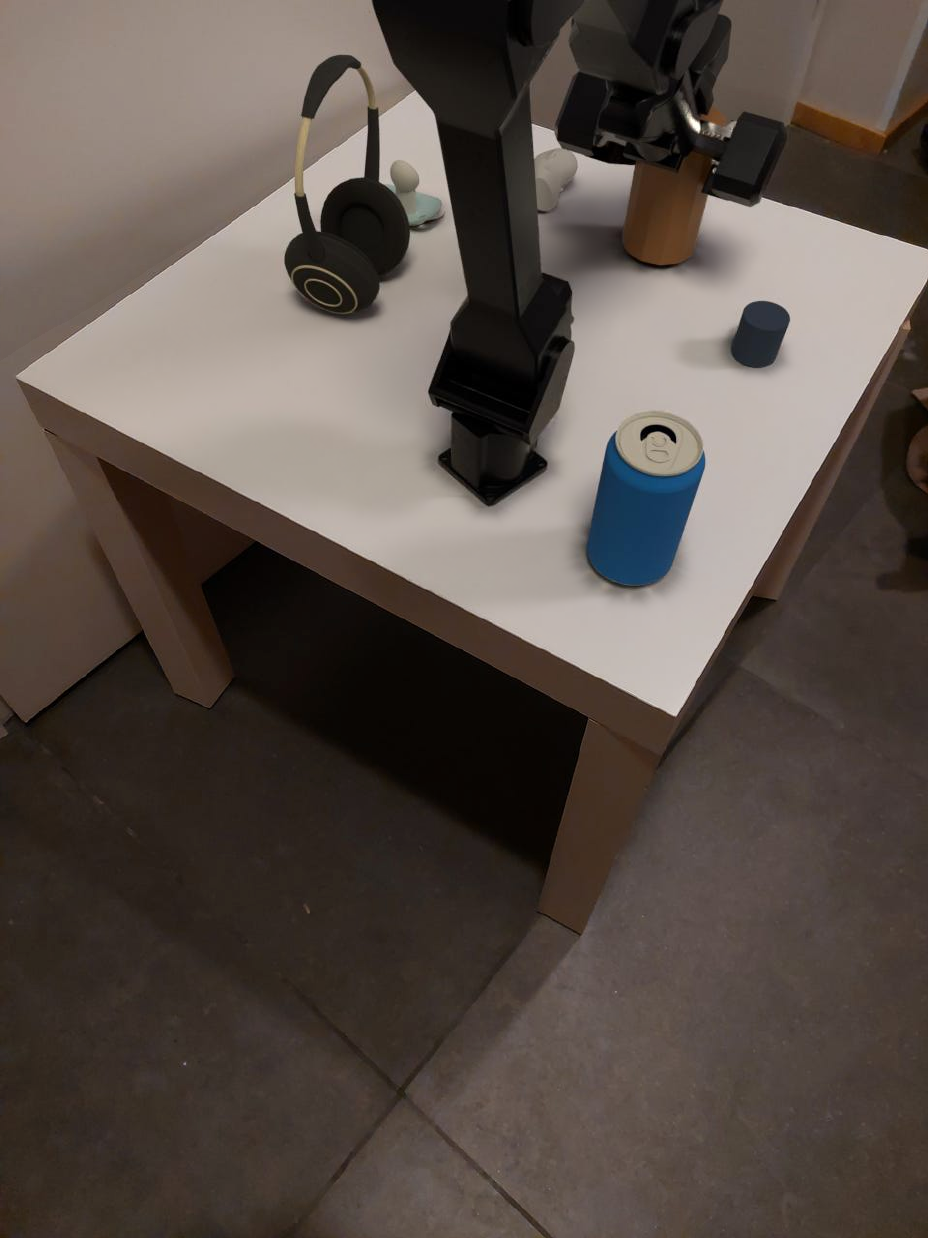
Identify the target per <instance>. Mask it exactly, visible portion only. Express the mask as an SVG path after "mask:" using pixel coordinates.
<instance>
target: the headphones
mask: <svg viewBox="0 0 928 1238" xmlns="http://www.w3.org/2000/svg"><path fill="white" fill-rule="evenodd" d="M350 68H351V69H353V70H355V71H357V73H358V74H359V76H360V77H361V79H362V82H363V84H364V87H365V92H366V96H367V100H368V101H367V102H368V106H366V107H367V109H366V110H367V133H366V134H367V135H366V146H365V147H366V149H365V158H364V159H365V161H364V172H363V173H364V174H363V177H362V176H361V177H353V178H350V179H346V180H344V181H342V182H340V183H339V184H337V185H336V186H335V187H333V188H332V190H331V191H330V192H329V193H328V194H327V196H326V198H325V200H324V201H323V204H322V208H321V211H320V219H319V220H320V221H319V223H320V231H317V229H316V226H315V224H314V221H313V218H312V216H311V210H310V206H309V202H308V198H307V194H306V193H305V188H304V168H305V166H304V164H305V155H306V148H307V141H308V136H309V131H310V128H311V123H312V121H313V120H315V118H316V114H317V113H318V110H319V108H320V107H321V105H322V102H323V101H324V99H325V97H326V96H327V94H328V92H329V91H330V89H331V88H332V87H333V85H334V84H335V83H336V82H337V81H338V80H339V79H341V77H342V76H343V75H345V73H346V72H347V70H348V69H350ZM376 97H377V96H376V92H375V89H374V85H373V83H372V80H371V78H370V76H369V74H368V72H367V70H366V69H365V68H364V67H363V66H362V62H361V61H359V59H357V58H356V57H355V56H354V55H351V54H335V55H332V56H329V57H327V58H326V59H325V60H323V61H322V62H320V64H318V65H317V66H316V68H315V69H314V71H313V72H312V74H311V76H310V79H309V82H308V84H307V87H306V92H305V95H304V98H303V102H302V103H303V104H302V109H301V114H300V117H301V123H300V127H299V131H298V136H297V143H296V149H295V160H294V194H293V196H294V201H295V202H294V203H295V207H296V212H297V217H298V221H299V225H300V229H301V233H299V234H297V235H296V236H295V237H293V238H292V239H291V240H290V241H289V243H288V245H287V246H286V250H285V253H284V258H283V259H284V260H283V261H284V267H285V270H286V273H287V276H288V277H289V279H290V281H291V283H292V284H293V287H294V288H295V290H296V291H297V292H298V294H300V295H301V296H302V297H303V298H304V299H305V300H307V301H308V302H309V303H311V304H312V305H314V306H315V307H317V308H319V309H322V310H324V311H327V312H329V313H334V314H339V315H345V314H354V313H359V312H361V311H364V310H367V309H369V308H370V307H371V306H372V305H373V304H374V303H375V301H376V299H377V297H378V295H379V293H380V287H381V285H380V278H381V277H384V276H386V275H388V274H389V273H390V272H392V271H394V270H395V269H396V268H397V267H398V266H399V265H400V264H401V262H402V261H403V260H404V258H405V256H406V255H407V251H408V248H409V245H410V238H411V226H409V221H408V217H407V214H406V211H405V209H404V207H403V205H402V203H401V201H400V200H399V199H398V197H397V196H396V195H395V194H394V192H393V191H391V190H390V189H389V188H388V187H387V186H385V185H386V184H383V183H382V182H380V165H381V163H380V159H381V146H380V145H381V144H380V143H381V140H380V136H381V135H380V134H381V133H380V115H379V114H380V113H379V107H378V105H377V104H378V103H377V98H376Z"/></svg>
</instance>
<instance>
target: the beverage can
mask: <svg viewBox="0 0 928 1238" xmlns="http://www.w3.org/2000/svg"><path fill="white" fill-rule="evenodd" d="M705 468H706V455H705V450H704V442H703V438H702V435H701V433H700V431H699V430H698V429H697V428H696V427H695V426H694V425H693V424H692V423H691V422H690V421H688V420H687V419H685V418H684V417H682V416H680V415H677V414H675V413H671V412H667V411H662V410H646V411H640V412H637V413H634V414H631V415H630V416H628V417H627V418H626V419H624V420H623V421H622V422H621V423H620V424H619V425H618V428H617V430H615V431H614V432H613V433H612V435H611V436H610V438H609V439H608V441H607V443H606V447H605V451H604V456H603V462H602V466H601V471H600V475H599V481H598V486H597V491H596V496H595V500H594V506H593V511H592V516H591V520H590V525H589V526H590V527H589V530H588V534H587V535H588V536H587V541H586V552H587V553H586V554H587V557H588V560H589V562H590V563H591V565H592V566H593V568H594V569H595V570H596V571H597V572H598V573H599V574H600V575H601V576H603V577H604V578H606V579H607V580H610V581H611V582H615V583H617V584H621V585H625V586H632V587H633V586H634V587H635V586H636V587H637V586H645V585H650V584H652V583H655V582H657V581H659V580H661V579H662V578H663V577H664V576H665V575H667V573H668V572H669V571H670V570H671V568H672V566H673V563H674V561H675V558H676V555H677V552H678V550H679V546H680V543H681V540H682V538H683V534H684V531H685V528H686V526H687V523H688V519H689V516H690V513H691V511H692V507H693V504H694V501H695V498H696V495H697V493H698V490H699V487H700V484H701V481H702V479H703V475H704V472H705Z"/></svg>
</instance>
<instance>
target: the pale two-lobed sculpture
mask: <svg viewBox="0 0 928 1238" xmlns="http://www.w3.org/2000/svg"><path fill="white" fill-rule="evenodd" d="M534 165H535V180H536V195H537V210H539V211H542V212H550V211H553V210H554V208H555V207H556V206H557V204H558V203H559V199H560V193H561V192H563V187H564V186H566V185H567V184H568V183H569V182H570V181H571V180H573V178H574V177H575V176H576V174H577V172H578V168H579V163H578V159H577V157H576V155H575V154H574V152H572V151H569V150H566V149H563V148H561V147H557V148H552V149H548V150H545V151H543V152H541V153H539V154H537V155H536V156H534Z"/></svg>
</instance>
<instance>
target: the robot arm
mask: <svg viewBox="0 0 928 1238" xmlns="http://www.w3.org/2000/svg"><path fill="white" fill-rule="evenodd" d="M724 1H725V0H371V1H370V2H371V4H372V8H373V11H374V14H375V17H376V20H377V22H378V25H379V28H380V31H381V34H382V37H383V39H384V42H385V45H386V47H387V49H388V50H387V51H388V52H389V55H390V58H391V61H392V63H393V65H394V66H395V68H396V69H397V70H398V71H399V73H400V74H401V75H402V76H403V77H404V78H405V80H406V81H407V82H408V84H410V86H411V87H412V88H413V89H414V91H415V93H417V94H418V95H419V96H420V99H422V100H423V101H424V103H425V104H426V106H428V107H429V108H430V109H431V112H432V113H433V115H434V119H435V124H436V130H437V135H438V140H439V146H440V147H439V148H440V152H441V157H442V162H443V168H444V173H445V179H446V185H447V191H448V196H449V201H450V206H451V213H452V217H453V223H454V229H455V233H456V239H457V244H458V250H459V256H460V261H461V267H462V272H463V277H464V282H465V290H466V295H467V296H465V298H464V300H463V302H462V303H461V304H460V306H459V308H458V309H457V310H456V313H454V315H453V317H452V318H451V320H450V323H449V332H448V335H447V337H446V341H445V343H444V346H443V348H442V351H441V355H440V357H439V360H438V362H437V365H436V368H435V370H434V374H433V375H432V379H431V381H430V384H429V386H428V389H427V395H428V398H429V400H430V402H431V405H432V406H434V407H436V408H442V409H445V410H447V411H449V412H451V413H450V447H449V448H448V449H445V450H444V451H443V452H441V453H439V454H438V456H437V463H438V464H439V465H440V466H441V467H442V468H444V469H445V470H446V471H447V472H448V473H449V474H450V475H452V476H453V477H454V478H455V479H456V480H458V482H460V483H461V484H462V485H464V487H466V489H468V490H469V491H470V492H471V493H472V494H474V495H475V496H476V497H477V498H478V499H479V500H481V501H482V502H483V503H484V504H486V505H488V506H494V505H495V504H497V503H498V502H500V501H502V500H503V499H505V498H507V496H509V495H511V494H512V493H513V492H515V491H516V490H518V489H520V488H521V487H523V486H524V485H525V484H528V483H529V482H530V481H531V480H533V479H534V478H536V477H538V476H539V475H541V474H542V473H544V472H545V471H547V469H548V466H549V465H548V463H549V462H548V461H547V459H545V458H544V457H543V456H542V455H540V454H539V453H538V452H537V451H536V449H537V448H538V443H539V437H540V435H541V434H542V433H543V432H544V430H545V429H546V428H547V426H548V425H549V424H550V422H551V420H552V419H553V418H554V417H555V415H556V414H557V413H558V411H559V410H560V407H561V403H562V400H563V396H564V392H565V388H566V385H567V381H568V377H569V374H570V371H571V367H572V364H573V359H574V356H575V349H576V345H575V342H574V340H572V336H573V335H572V326H571V325H573V323H574V322H575V317H574V315H573V311H572V308H573V307H572V305H573V295H574V293H573V292H574V291H573V289H572V286H571V285H570V282H569V280H566V279H564V278H561V277H559V276H558V277H557V276H555V275H552V274H549V273H546V272H543V271H542V256H541V243H540V241H541V240H540V228H539V213H538V210H539V209H537V195H536V180H535V165H534V159H535V152H534V151H535V150H534V138H533V137H534V135H533V134H534V133H533V121H532V104H531V82H532V81H533V79H534V77H535V75H537V73H538V71H539V69H540V67H541V66H542V64H543V63H544V61H545V59H546V58H547V56H548V55H549V54H550V52H551V50H552V48H553V47H554V45H555V43H556V42H557V41H558V39H559V36H560V33H561V29H562V28H563V27H564V26H565V25H566V24H567V22H569V20H570V19H571V20H570V21H571V22H570V29H571V30H570V34H569V37H568V40H567V44H568V46H569V49H570V52H571V54H572V57H573V58H574V62H575V65H576V67H577V69H578V71H577V72H576V73H574V75H573V76H572V78H571V80H570V83H569V85H568V88H567V91H566V94H565V97H564V99H563V101H562V105H561V106H560V110H559V112H558V115H557V118H556V120H555V123H554V131H553V132H554V133H553V134H554V136H555V139H556V141H557V143H558V144H559V146H560V148H563V149H566V150H569V151H570V152H572V153H575V154H578V155H582V156H584V157H587V158H589V159H592V160H595V161H598V162H602V163H606V164H608V165H620V166H621V165H622V166H623V165H624V166H635V163H636V161H639V162H642V163H645V164H649V165H652V166H655V167H658V168H662V169H665V170H668V171H671V172H675V173H678V171H679V168H680V166H681V164H682V161H683V159H684V158H686V157H687V156H688V155H689V154H690V153H691V151H692V152H695V153H698V154H702V155H705V156H708V157H712V158H713V159H712V161H711V164H712V167H711V169H710V171H709V174H708V176H707V179H706V181H705V183H704V186H703V188H702V191H701V193H704V194H707V195H708V196H709V197H714V198H717V199H720V200H723V201H726V202H731V203H735V204H738V205H742V206H745V207H747V208H752V207H754V206H756V205H758V204H760V203H761V201H762V199H763V196H764V194H765V192H766V189H767V187H768V185H769V183H770V180H771V178H772V175H773V173H774V171H775V169H776V166H777V164H778V162H779V159H780V157H781V155H782V152H783V150H784V148H785V146H786V143H787V141H788V132H787V129H786V126H785V123H784V121H780V120H776V119H773V118H769V117H765V116H763V115H758V114H755V113H751V112H748V111H745V110H744V111H742V112H741V114H740V115H739V116H738V117H737V120H735V119H731V120H730V122H728V123H727V124H726V125H725V126H722V125H718V124H715V123H711V122H708V121H705V120H701V119H700V118H701V115H702V114H703V115H708V113H709V111H710V109H711V106H712V107H713V103H714V101H715V98H714V97H715V96H714V93H713V92H714V91H713V90H714V87H715V84H716V82H717V80H718V79H717V78H718V77H719V74H720V72H721V71H722V68H723V67H724V65H725V64H726V63H727V61H728V58H729V51H730V43H731V33H732V20H731V18H729V17H728V16H727V15H725V14H722V13H720V11H721V8H722V6H723V3H724ZM702 131H703V134H700V133H701V132H702ZM706 133H707V135H705V134H706ZM711 134H712V137H710V135H711ZM715 135H716V138H714V137H715ZM719 137H721V140H720V139H719Z"/></svg>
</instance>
